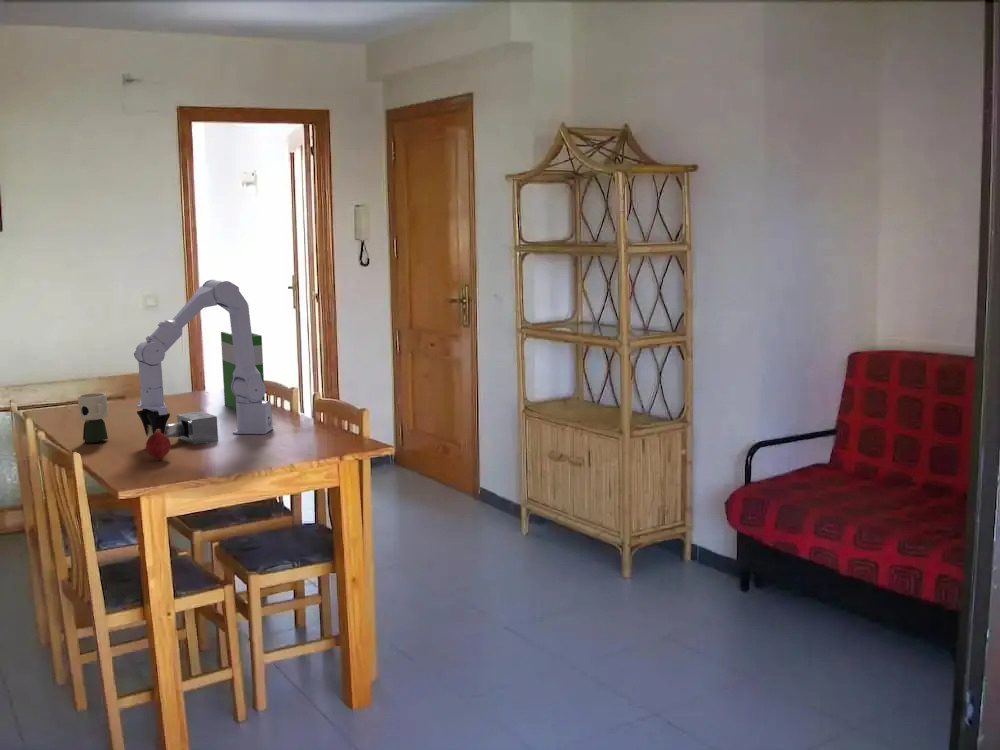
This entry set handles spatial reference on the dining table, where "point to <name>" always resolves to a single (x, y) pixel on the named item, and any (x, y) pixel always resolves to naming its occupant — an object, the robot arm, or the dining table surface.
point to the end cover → (169, 430)
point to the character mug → (93, 416)
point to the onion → (158, 445)
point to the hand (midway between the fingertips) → (154, 437)
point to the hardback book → (229, 366)
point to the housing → (198, 427)
